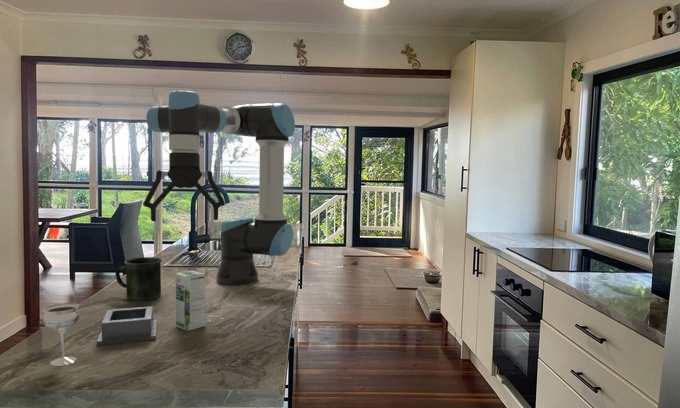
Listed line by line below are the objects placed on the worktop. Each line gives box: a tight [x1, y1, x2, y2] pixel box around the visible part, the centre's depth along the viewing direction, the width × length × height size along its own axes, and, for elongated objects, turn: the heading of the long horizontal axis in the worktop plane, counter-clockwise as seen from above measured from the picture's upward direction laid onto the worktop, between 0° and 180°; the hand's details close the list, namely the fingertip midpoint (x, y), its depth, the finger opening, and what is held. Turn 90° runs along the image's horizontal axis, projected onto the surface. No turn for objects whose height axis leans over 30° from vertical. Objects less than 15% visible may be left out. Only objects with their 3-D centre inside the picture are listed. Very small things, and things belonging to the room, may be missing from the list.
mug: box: [115, 256, 163, 302], centre depth 153 cm, size 11×15×12 cm
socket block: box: [96, 305, 158, 346], centre depth 121 cm, size 13×13×5 cm
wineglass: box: [43, 302, 80, 367], centre depth 103 cm, size 7×7×12 cm
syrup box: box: [175, 270, 206, 332], centre depth 126 cm, size 6×6×14 cm
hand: (185, 233), depth 125 cm, fingers open, 13 cm apart
